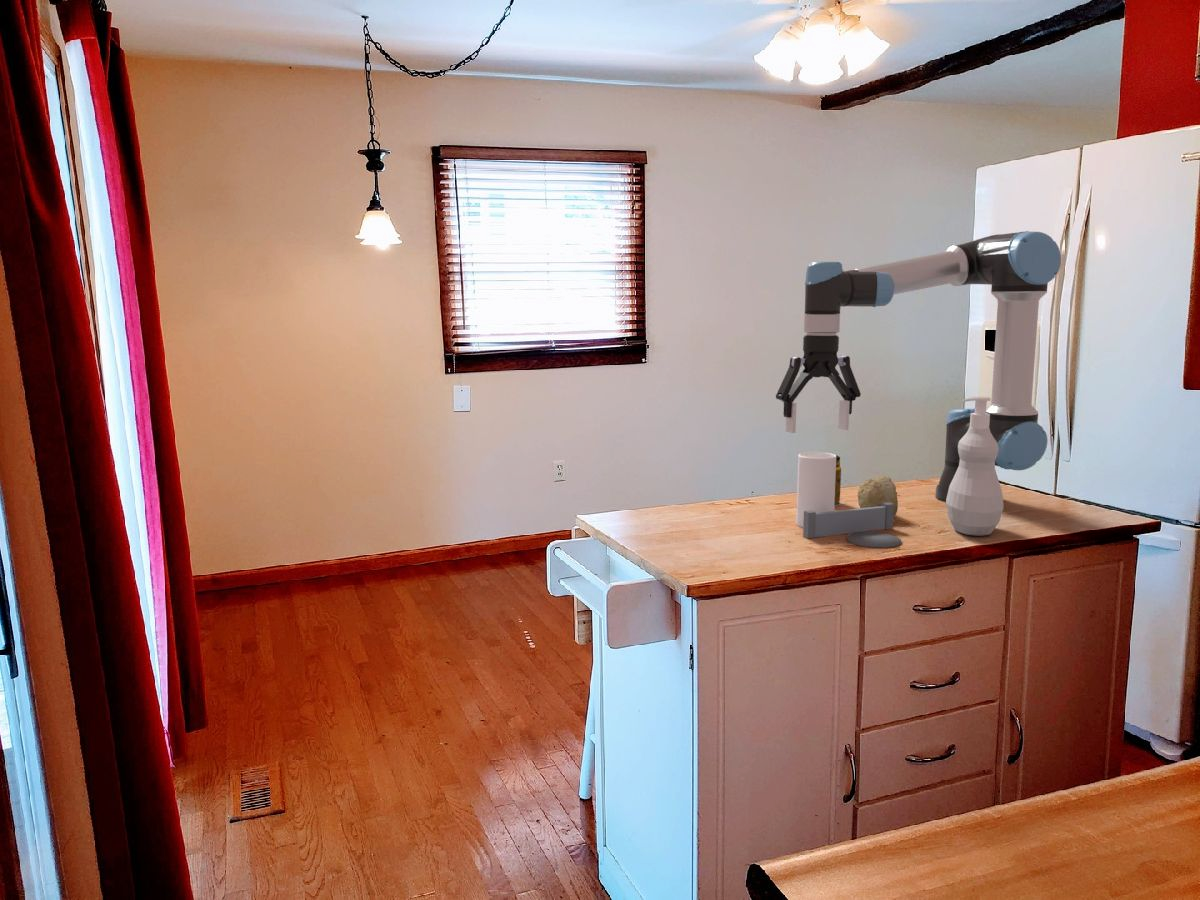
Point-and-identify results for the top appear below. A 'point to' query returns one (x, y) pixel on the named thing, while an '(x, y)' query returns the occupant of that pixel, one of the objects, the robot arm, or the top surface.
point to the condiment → (838, 483)
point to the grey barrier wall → (848, 521)
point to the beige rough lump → (877, 493)
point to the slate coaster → (874, 540)
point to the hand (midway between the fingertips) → (817, 430)
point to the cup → (815, 483)
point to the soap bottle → (976, 478)
